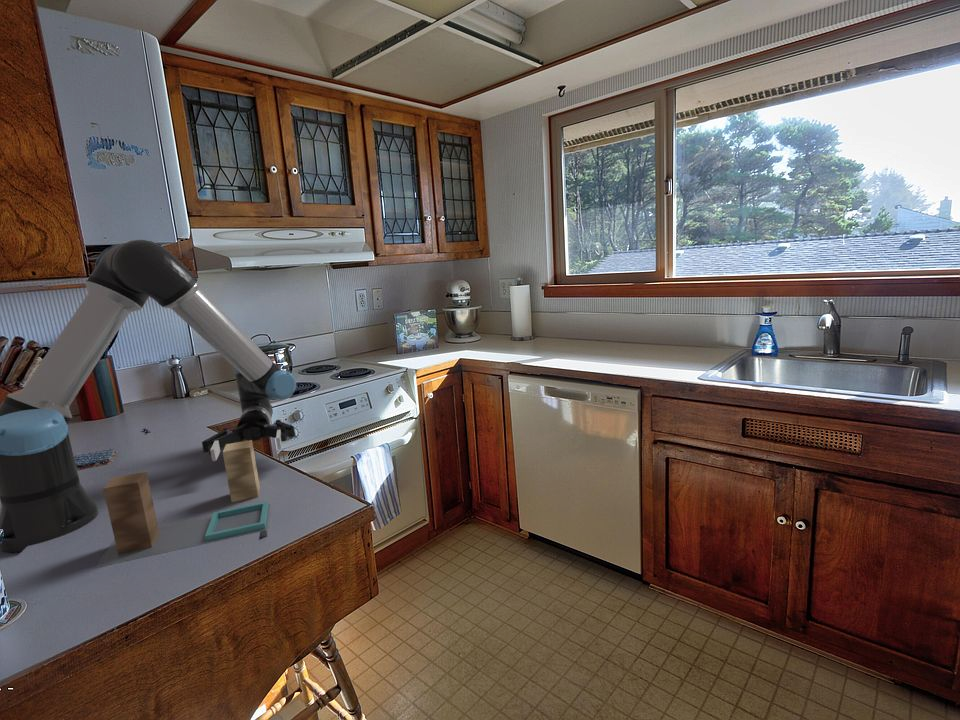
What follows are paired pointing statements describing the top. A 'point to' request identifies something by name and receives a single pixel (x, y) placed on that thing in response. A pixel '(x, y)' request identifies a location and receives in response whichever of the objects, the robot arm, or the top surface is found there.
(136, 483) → the walnut pillar
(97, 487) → the top surface
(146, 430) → the chef's knife
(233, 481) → the oak pillar
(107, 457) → the woven mat
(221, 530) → the build plate
